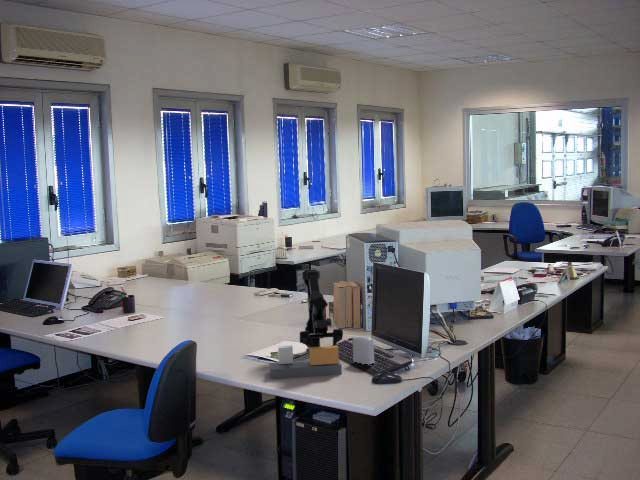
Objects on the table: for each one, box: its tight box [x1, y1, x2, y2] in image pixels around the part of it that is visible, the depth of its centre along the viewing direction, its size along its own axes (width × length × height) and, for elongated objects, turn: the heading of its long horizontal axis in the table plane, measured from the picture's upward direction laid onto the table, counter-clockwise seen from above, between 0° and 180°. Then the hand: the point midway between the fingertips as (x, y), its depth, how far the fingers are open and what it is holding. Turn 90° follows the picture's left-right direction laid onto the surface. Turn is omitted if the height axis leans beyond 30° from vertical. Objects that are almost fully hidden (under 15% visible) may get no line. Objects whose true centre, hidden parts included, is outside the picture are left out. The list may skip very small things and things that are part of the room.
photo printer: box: [352, 335, 375, 366], centre depth 304 cm, size 10×4×12 cm, turn 47°
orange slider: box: [308, 345, 340, 365], centre depth 291 cm, size 3×12×7 cm, turn 97°
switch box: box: [268, 359, 343, 380], centre depth 293 cm, size 10×30×4 cm, turn 97°
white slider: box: [277, 345, 294, 364], centre depth 294 cm, size 3×6×7 cm, turn 97°
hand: (323, 352), depth 294 cm, fingers open, 9 cm apart
